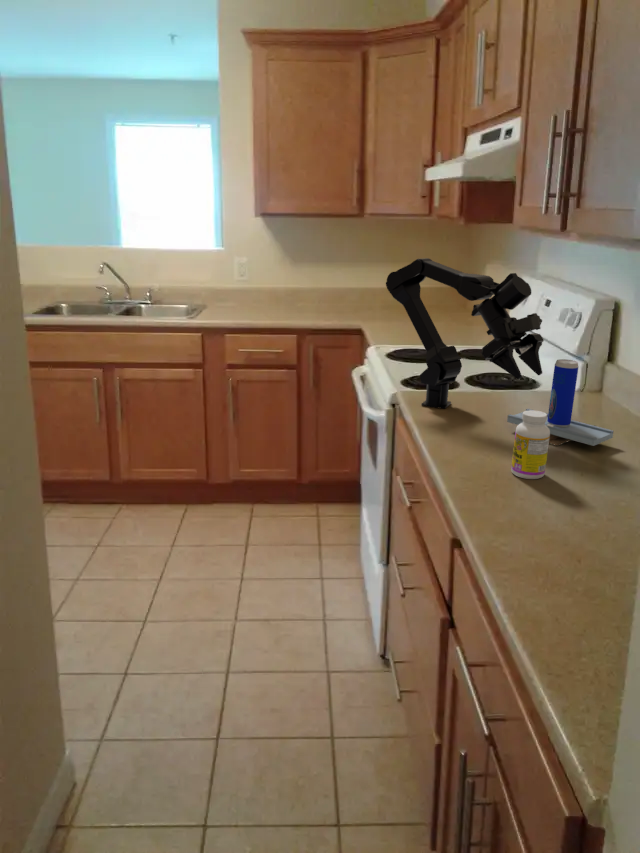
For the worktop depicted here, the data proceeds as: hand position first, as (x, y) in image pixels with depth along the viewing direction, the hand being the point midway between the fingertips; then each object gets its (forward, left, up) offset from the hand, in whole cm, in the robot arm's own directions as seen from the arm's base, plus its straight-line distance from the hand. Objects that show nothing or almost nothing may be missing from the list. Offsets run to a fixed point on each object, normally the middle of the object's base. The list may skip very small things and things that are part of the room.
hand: (530, 376), depth 176 cm
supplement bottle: (+30, +6, -14) cm, 33 cm away
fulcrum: (+2, +8, -13) cm, 16 cm away
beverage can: (+2, +8, -10) cm, 13 cm away
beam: (+2, +8, -11) cm, 14 cm away
